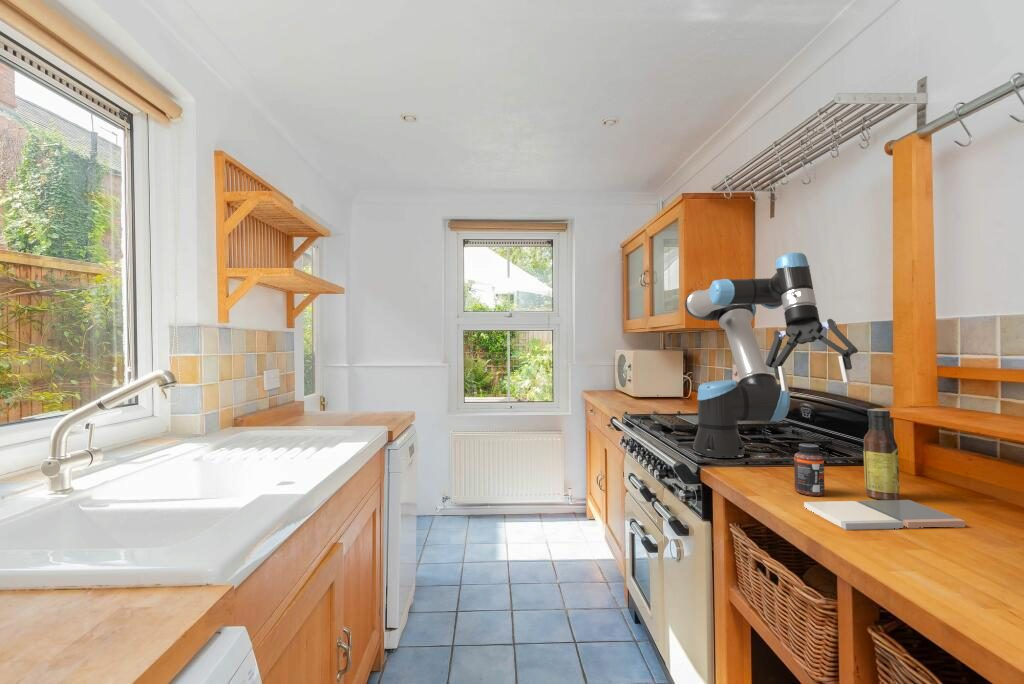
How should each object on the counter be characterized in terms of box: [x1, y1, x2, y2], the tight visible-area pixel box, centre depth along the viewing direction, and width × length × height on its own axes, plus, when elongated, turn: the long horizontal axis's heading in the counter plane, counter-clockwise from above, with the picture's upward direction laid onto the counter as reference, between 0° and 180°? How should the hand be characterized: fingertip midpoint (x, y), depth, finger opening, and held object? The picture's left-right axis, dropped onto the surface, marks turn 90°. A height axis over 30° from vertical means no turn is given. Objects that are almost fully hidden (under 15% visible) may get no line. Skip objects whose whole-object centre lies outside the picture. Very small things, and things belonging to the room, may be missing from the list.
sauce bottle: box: [862, 408, 901, 500], centre depth 107 cm, size 6×6×20 cm
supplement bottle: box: [793, 443, 826, 497], centre depth 110 cm, size 6×6×11 cm
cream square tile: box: [803, 500, 904, 531], centre depth 95 cm, size 12×11×1 cm
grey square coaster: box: [858, 499, 966, 529], centre depth 95 cm, size 12×11×1 cm
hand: (814, 387), depth 117 cm, fingers open, 13 cm apart
